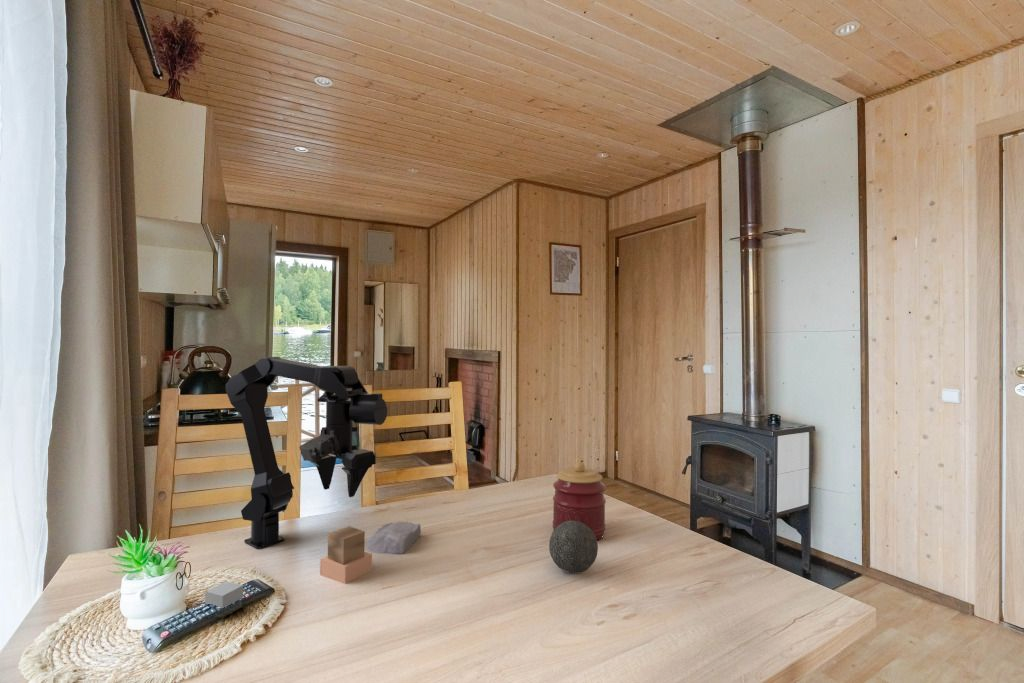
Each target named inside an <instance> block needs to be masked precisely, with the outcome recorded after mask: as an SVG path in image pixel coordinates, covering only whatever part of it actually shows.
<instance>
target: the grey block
mask: <svg viewBox="0 0 1024 683" xmlns="http://www.w3.org/2000/svg"><path fill="white" fill-rule="evenodd" d="M204 595H205V596H204V605H205V604H213V605H216V606H218V607H220V608H224V607H226V606H228V605H230V604H231V603H233V602H235V601H237V600H239V599H241V598H242V597H243V598H244V585H243V584H239V583H236V582H235V583H234V582H231V581H228V580H226V581H224V582H221V583H220V584H218V585H216V586H213V587H212V588H210V589H208V590H206V591H205V593H204Z"/></svg>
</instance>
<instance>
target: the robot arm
mask: <svg viewBox="0 0 1024 683" xmlns="http://www.w3.org/2000/svg"><path fill="white" fill-rule="evenodd" d="M277 377H280V378H281V377H282V378H287V379H291V380H296V381H301V382H305V383H310V384H312V385H314V386H316V387H317V388H318V389H320V390H322V391H324V392H323V394H322V395H320V396H319V397H318V398H317V402H319V403H325V404H326V406H325V407H326V408H325V410H326V411H325V414H326V415H325V426H324V427H321V429H320V434H319V435H318V436H317V437H314V438H312V439H310V440H308V441H306V442H305V443H302V444H301V445H300V446H299V447H298V448H299V450H300V453H301V455H302V458H303V461H305V462H306V461H307V462H310V463H312V464H313V465H314V466H315V467H316V470H317V472H318V474H319V478H320V481H321V484H322V487H323V490H328V489H329V490H330V487H331V483H332V480H333V475H334V471H335V466H336V462H337V459H340V460H341V463H342V465H343V467H341V469H342V471H343V472H345V474H346V480H347V492H348V498H353V497H355V495H356V493H357V491H358V489H359V486H360V485H361V483H362V481H363V479H364V477H365V475H366V474H367V472H368V470H369V469H370V468H372V466H373V465H376V463H377V455H376V453H375V452H374V451H373V450H369V449H363V448H362V449H358V445H357V444H354V432H358V426H356V425H372V426H373V425H374V426H375V425H376V426H381V425H383V424H384V423H385V422H386V420H387V416H388V407H387V403H386V401H385V400H384V399H383V393H382V392H381V393H379V392H376V393H368V390H367V389H366V388H365V386H364V385H363V383H362V381H361V379H359V376H358V372H357V371H356V369H355V367H353V366H351V365H324V366H323V365H316V364H311V363H307V362H303V361H302V362H300V361H294V360H290V359H285V358H281V357H279V356H264V357H262V358H260V359H259V360H258V361H256V363H254V364H252V365H250V366H249V367H247V368H244V369H242V370H241V371H240V372H238V373H237V374H235V375H233V376H231V377H230V378H229V379H228V381H227V383H225V392H226V394H227V397H228V400H229V402H230V404H231V406H232V407H233V408H234V409H235V410H236V411H237V412H238V413H239V414H240V416H241V421H242V424H243V425H242V426H243V429H244V430H243V431H244V434H245V438H246V442H247V446H248V451H249V455H250V460H251V463H252V468H253V472H254V473H253V474H254V477H253V480H252V484H251V486H250V495H251V500H250V501H248V503H247V504H246V505H245V506H244V507H243V508H242V509H241V510H240V514H241V517H242V520H244V521H250V522H251V524H250V525H251V526H250V537H249V538H246V539H244V540H243V541H244V543H245V544H247V545H250V546H252V547H253V548H256V549H261V548H265V547H268V546H271V545H274V544H277V543H281V542H283V541H285V540H286V538H285V537H284V536H282V535H279V534H280V532H279V531H280V514H279V513H281V512H283V511H286V510H287V509H288V505H289V503H290V502H291V500H292V498H293V497H294V496H293V495H294V494H293V490H294V489H295V487H294V485H293V483H292V476H291V473H290V472H285V473H284V472H283V471H282V470H281V468H279V465H278V460H277V458H276V454H275V453H276V452H275V448H274V444H273V441H272V436H271V432H270V429H269V424H268V419H267V416H266V412H265V408H266V407H265V406H266V403H267V401H268V396H269V393H268V387H270V386H271V385H272V384H274V382H276V380H277ZM354 423H355V424H356V425H355V426H354Z"/></svg>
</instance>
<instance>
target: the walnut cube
mask: <svg viewBox="0 0 1024 683" xmlns="http://www.w3.org/2000/svg"><path fill="white" fill-rule="evenodd" d="M365 534H366V533H365V530H362V529H359V528H356V527H353V526H349V525H348V526H346V527H342V528H340V529H337V530H333V531H331V532H328V533H327V556H328V559H330V560H333V561H335V562H337V563H340V564H342V565H344V564H347V563H349V562H352V561H354V560H357V559H359V558H361V557H364V552H365V540H366V535H365Z"/></svg>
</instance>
